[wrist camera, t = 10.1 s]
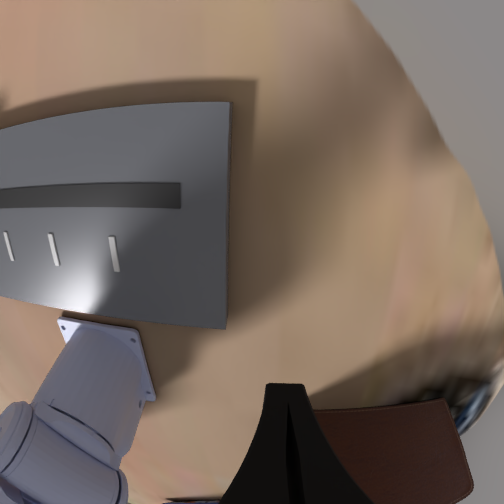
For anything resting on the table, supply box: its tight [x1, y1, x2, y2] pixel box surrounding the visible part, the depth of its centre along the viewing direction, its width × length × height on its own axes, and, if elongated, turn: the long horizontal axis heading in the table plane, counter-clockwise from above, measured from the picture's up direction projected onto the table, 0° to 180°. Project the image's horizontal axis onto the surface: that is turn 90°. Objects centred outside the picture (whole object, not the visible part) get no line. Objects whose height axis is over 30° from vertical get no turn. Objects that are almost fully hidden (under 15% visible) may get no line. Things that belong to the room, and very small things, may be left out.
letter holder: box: [313, 397, 474, 504], centre depth 23 cm, size 10×20×14 cm, turn 87°
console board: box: [0, 102, 233, 329], centre depth 18 cm, size 14×30×2 cm, turn 87°
